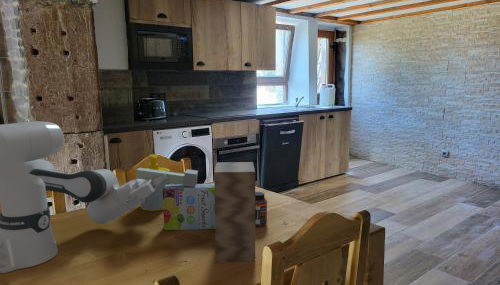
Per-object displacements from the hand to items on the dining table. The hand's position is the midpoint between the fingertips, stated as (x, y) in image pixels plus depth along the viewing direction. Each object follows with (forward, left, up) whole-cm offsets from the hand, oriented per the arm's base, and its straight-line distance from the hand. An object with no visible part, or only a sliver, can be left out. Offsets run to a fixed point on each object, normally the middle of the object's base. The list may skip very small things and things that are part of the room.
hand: (167, 173), depth 122 cm
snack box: (+9, +2, -19) cm, 21 cm away
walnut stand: (+27, -13, -19) cm, 36 cm away
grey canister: (-15, +19, -19) cm, 31 cm away
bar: (-1, 0, -3) cm, 3 cm away
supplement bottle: (+30, +9, -19) cm, 37 cm away
